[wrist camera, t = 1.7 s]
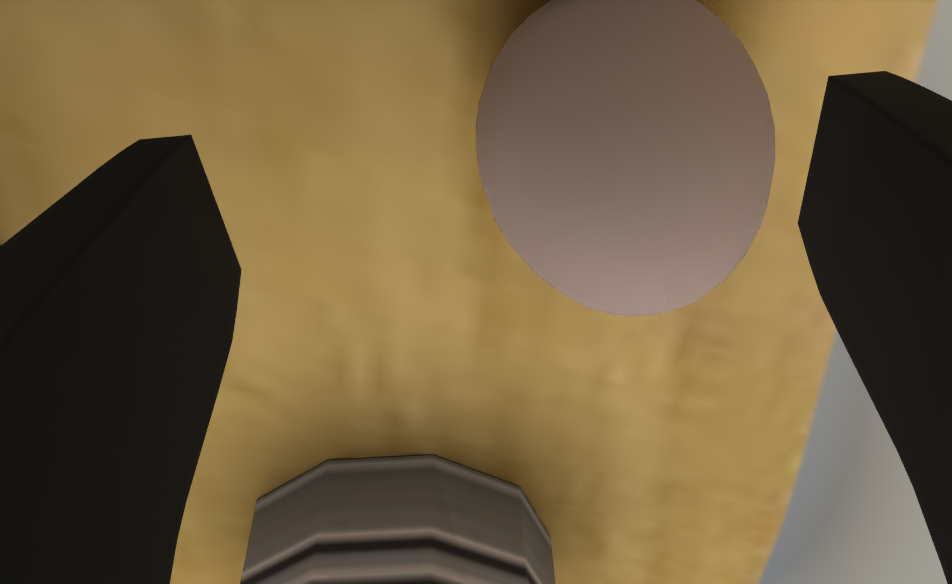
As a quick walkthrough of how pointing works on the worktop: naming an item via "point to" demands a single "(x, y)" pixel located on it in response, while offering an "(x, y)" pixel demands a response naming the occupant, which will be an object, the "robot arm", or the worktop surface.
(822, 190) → the robot arm
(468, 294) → the worktop surface
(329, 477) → the can
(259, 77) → the worktop surface
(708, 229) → the egg
